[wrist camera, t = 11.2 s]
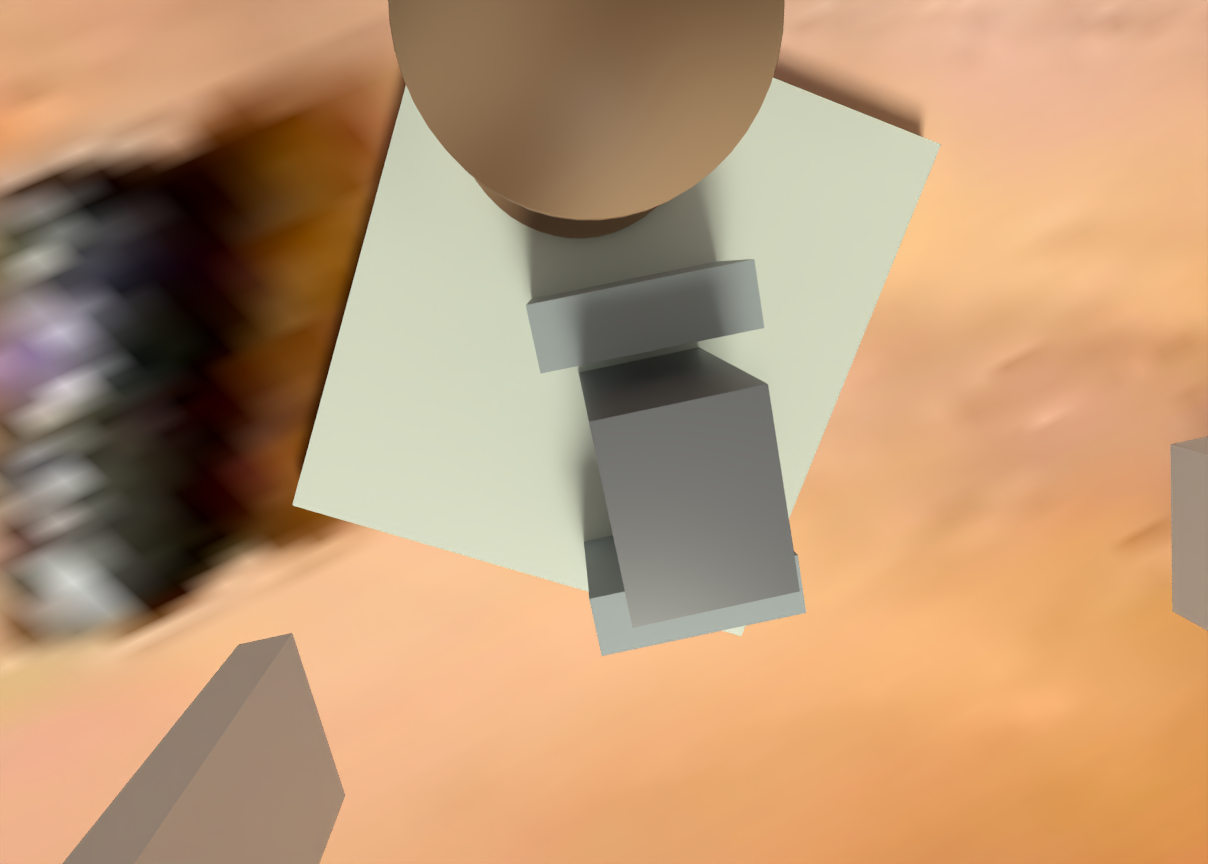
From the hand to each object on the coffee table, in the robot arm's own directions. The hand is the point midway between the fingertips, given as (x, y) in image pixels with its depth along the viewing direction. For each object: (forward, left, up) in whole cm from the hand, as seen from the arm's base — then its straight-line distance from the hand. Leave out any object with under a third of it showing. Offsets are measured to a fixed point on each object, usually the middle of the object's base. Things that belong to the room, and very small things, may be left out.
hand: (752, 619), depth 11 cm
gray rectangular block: (0, 0, -14) cm, 14 cm away
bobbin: (-5, +8, -15) cm, 18 cm away
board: (-2, +3, -15) cm, 15 cm away
